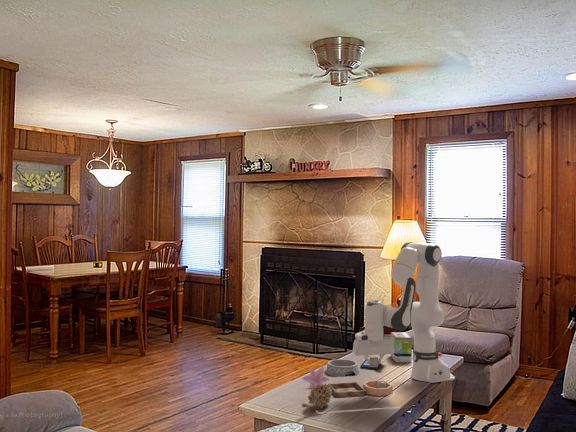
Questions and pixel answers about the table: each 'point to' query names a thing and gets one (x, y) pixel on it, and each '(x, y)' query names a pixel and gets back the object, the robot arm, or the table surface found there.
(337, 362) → the dog bowl
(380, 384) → the grey rounded cylinder
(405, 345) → the tea box
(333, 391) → the tray
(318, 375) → the lily
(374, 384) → the bowl
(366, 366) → the handheld game console
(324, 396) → the pine cone
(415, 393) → the table surface
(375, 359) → the pebble
